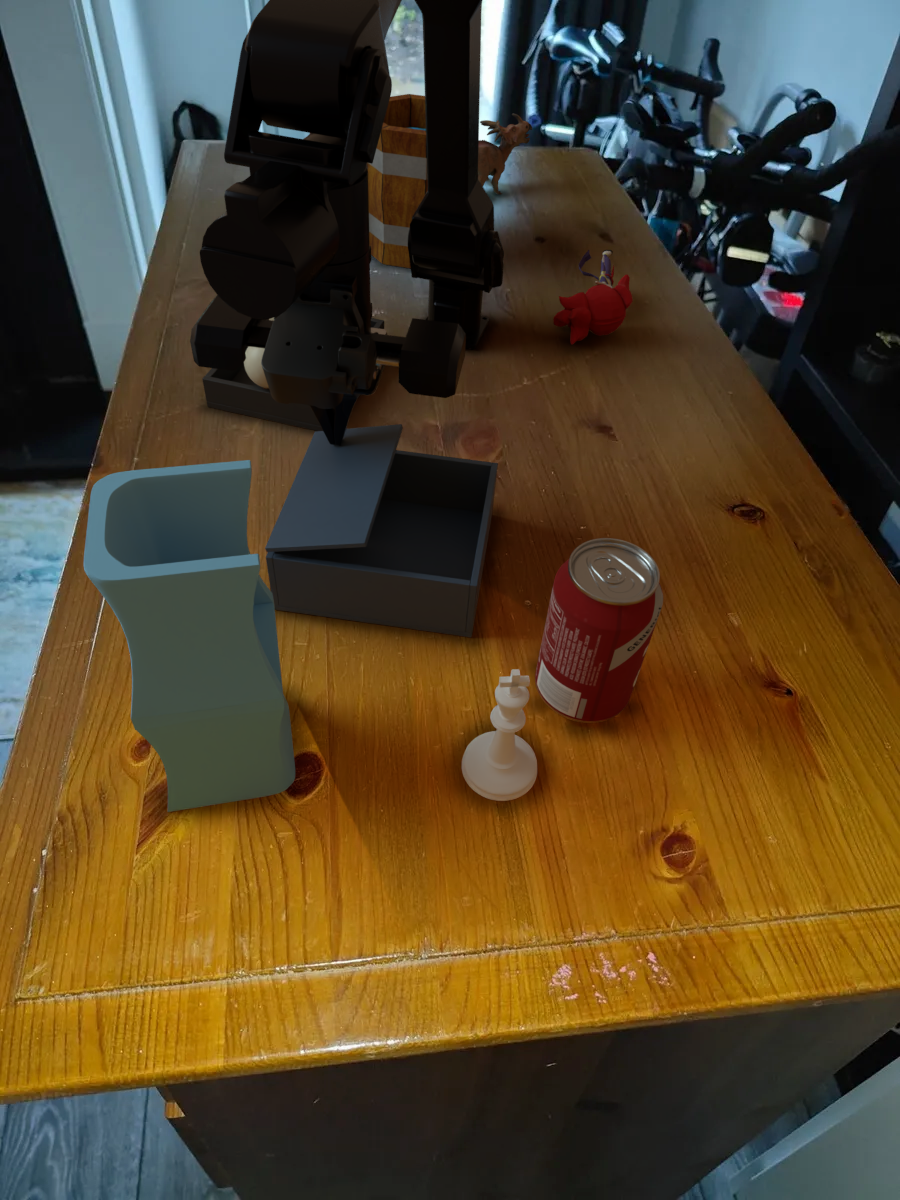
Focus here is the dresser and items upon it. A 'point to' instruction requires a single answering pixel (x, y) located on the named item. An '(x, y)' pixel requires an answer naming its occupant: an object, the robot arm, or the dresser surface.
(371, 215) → the mug
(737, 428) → the dresser surface
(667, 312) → the dresser surface
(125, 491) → the vase
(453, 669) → the dresser surface
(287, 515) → the flap
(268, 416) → the tray
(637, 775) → the dresser surface
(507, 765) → the chess piece
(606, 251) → the figurine
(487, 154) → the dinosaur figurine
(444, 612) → the dark square open box
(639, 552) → the soda can
